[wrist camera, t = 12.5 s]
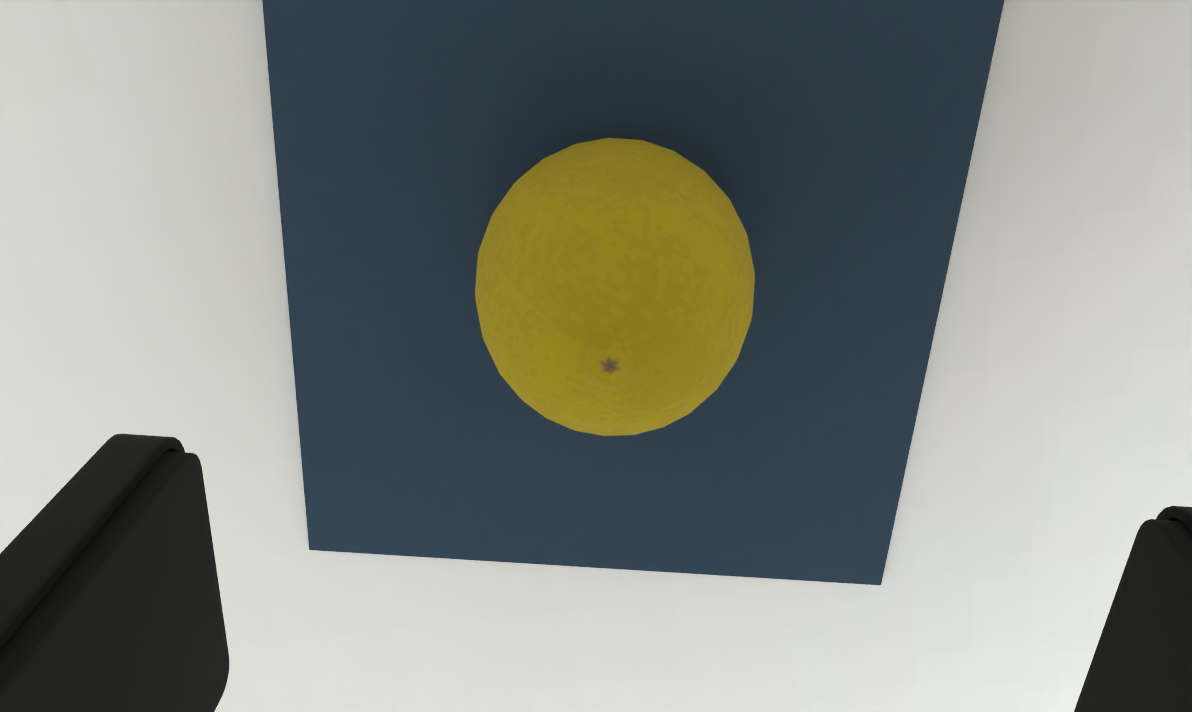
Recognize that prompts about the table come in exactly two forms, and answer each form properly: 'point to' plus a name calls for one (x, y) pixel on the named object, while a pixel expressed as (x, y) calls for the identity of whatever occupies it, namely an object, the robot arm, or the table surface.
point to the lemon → (614, 287)
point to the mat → (704, 137)
